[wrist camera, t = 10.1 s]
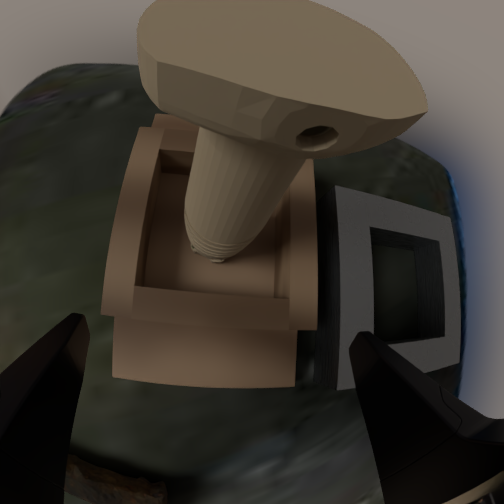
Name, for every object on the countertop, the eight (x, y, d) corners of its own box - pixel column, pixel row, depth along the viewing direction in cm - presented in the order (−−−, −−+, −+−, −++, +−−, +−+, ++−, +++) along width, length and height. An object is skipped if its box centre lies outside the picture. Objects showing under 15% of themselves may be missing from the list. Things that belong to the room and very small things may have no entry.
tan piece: (288, 383, 18) (313, 396, 14) (116, 373, 16) (98, 386, 12) (290, 141, 23) (308, 112, 19) (156, 122, 21) (154, 88, 17)
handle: (164, 209, 18) (156, -16, 4) (256, 206, 20) (377, 24, 5) (167, 280, 17) (111, 98, 3) (265, 273, 18) (454, 145, 4)
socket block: (433, 361, 21) (459, 362, 18) (313, 381, 19) (337, 390, 15) (427, 228, 25) (450, 217, 22) (314, 204, 22) (334, 185, 19)
